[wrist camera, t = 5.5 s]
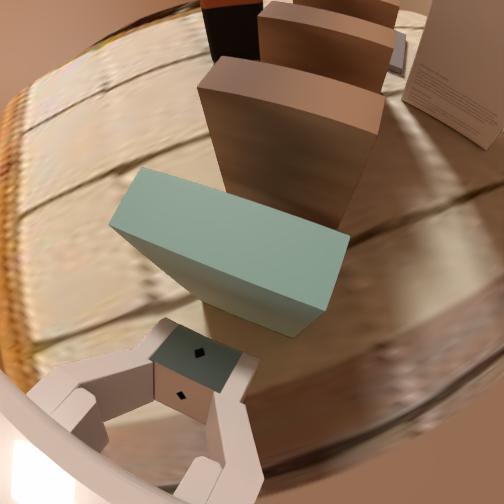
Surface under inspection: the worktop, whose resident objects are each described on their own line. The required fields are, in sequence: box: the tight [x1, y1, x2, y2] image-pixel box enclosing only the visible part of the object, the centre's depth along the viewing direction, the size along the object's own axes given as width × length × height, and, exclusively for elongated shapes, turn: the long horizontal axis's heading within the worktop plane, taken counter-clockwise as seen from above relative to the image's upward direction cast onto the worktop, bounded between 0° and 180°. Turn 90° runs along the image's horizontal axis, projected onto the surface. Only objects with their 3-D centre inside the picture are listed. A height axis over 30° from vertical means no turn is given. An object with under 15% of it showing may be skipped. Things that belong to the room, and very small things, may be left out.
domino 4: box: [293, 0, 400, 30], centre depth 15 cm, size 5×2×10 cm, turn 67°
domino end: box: [108, 167, 350, 338], centre depth 11 cm, size 5×2×10 cm, turn 67°
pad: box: [388, 31, 406, 74], centre depth 22 cm, size 9×7×1 cm
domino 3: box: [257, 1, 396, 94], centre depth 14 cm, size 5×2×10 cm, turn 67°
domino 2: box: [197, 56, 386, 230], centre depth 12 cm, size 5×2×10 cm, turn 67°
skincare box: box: [401, 0, 504, 150], centre depth 12 cm, size 8×7×16 cm
